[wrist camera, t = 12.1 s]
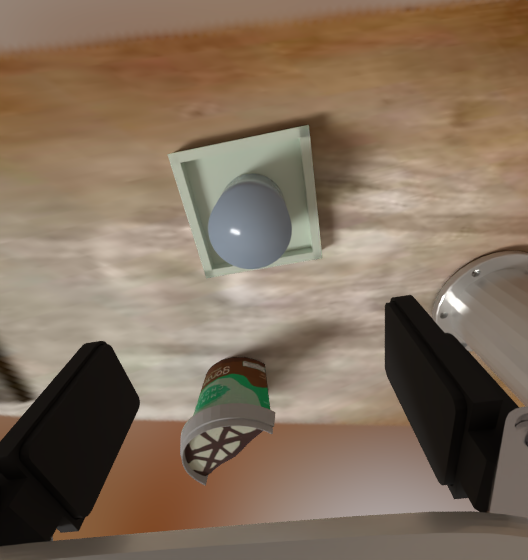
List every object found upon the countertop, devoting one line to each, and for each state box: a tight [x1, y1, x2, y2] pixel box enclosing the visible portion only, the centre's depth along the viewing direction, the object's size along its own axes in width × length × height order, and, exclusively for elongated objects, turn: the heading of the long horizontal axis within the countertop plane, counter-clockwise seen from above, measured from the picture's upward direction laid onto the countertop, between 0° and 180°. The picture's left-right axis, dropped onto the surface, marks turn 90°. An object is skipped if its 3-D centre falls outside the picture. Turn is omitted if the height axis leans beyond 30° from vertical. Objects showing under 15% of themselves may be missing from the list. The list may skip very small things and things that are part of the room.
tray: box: [168, 125, 322, 278], centre depth 27 cm, size 12×12×2 cm
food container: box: [180, 357, 275, 485], centre depth 33 cm, size 12×6×10 cm, turn 140°
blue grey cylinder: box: [208, 173, 292, 269], centre depth 24 cm, size 6×6×7 cm
